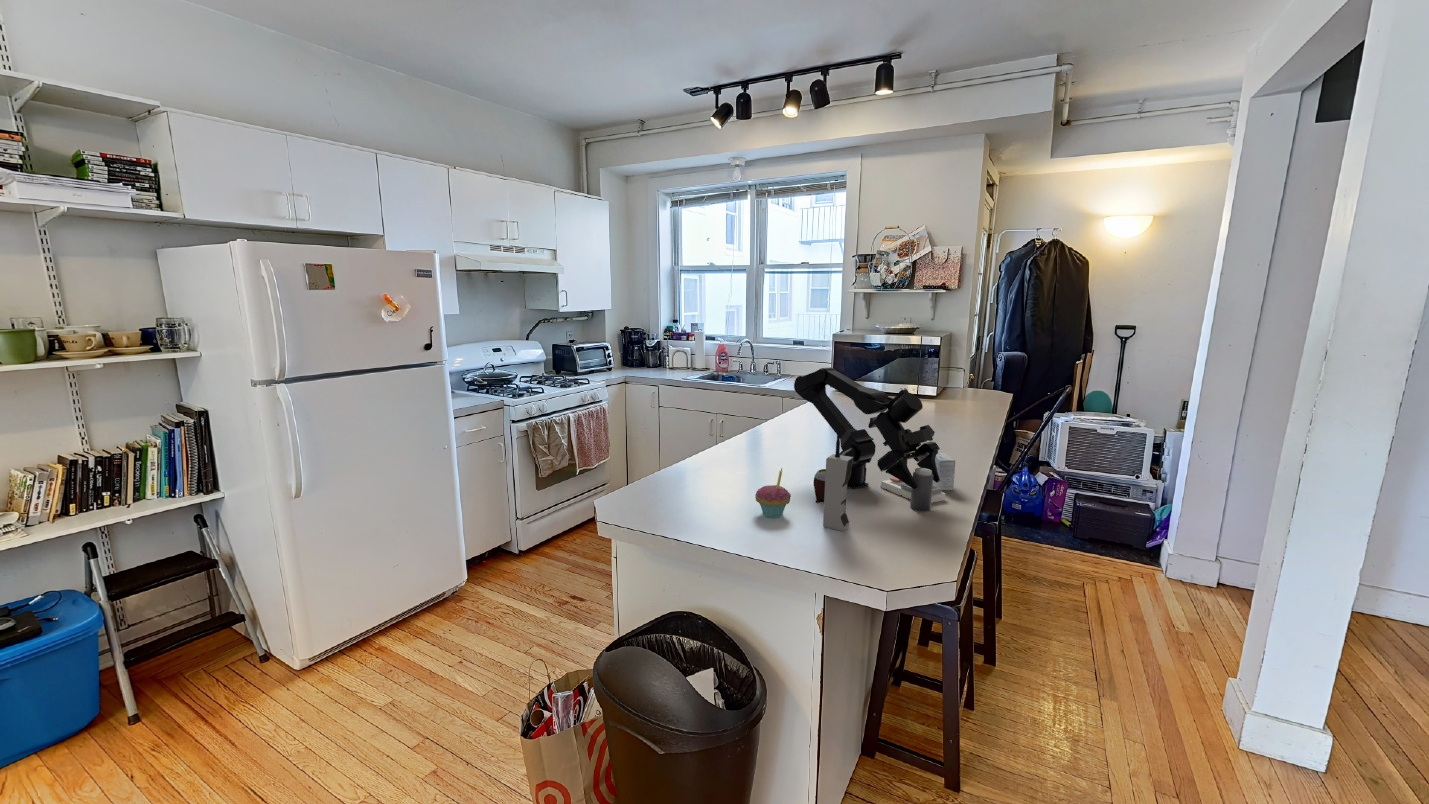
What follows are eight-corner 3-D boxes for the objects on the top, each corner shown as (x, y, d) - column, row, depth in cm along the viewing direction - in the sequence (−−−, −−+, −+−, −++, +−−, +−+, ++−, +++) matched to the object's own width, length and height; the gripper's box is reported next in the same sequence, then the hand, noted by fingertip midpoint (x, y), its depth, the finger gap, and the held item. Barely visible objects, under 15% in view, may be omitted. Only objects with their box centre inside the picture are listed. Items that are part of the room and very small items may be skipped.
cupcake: (793, 510, 141) (794, 463, 139) (785, 523, 133) (787, 473, 131) (759, 506, 144) (760, 460, 142) (750, 518, 136) (751, 469, 134)
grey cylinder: (915, 512, 141) (918, 473, 140) (907, 505, 146) (910, 467, 144) (933, 511, 142) (937, 473, 140) (925, 504, 146) (928, 467, 145)
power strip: (922, 504, 146) (923, 493, 146) (881, 487, 159) (881, 477, 159) (944, 500, 150) (945, 489, 149) (902, 483, 163) (902, 473, 162)
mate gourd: (808, 498, 150) (810, 443, 147) (834, 495, 152) (837, 440, 150) (821, 508, 143) (824, 450, 140) (849, 505, 146) (852, 448, 143)
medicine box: (953, 490, 157) (956, 460, 156) (937, 490, 157) (940, 460, 156) (942, 481, 165) (945, 452, 163) (927, 481, 165) (929, 452, 164)
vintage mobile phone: (843, 532, 129) (849, 424, 124) (822, 527, 131) (828, 421, 127) (849, 526, 132) (855, 421, 127) (828, 522, 134) (833, 418, 130)
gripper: (890, 419, 137) (926, 475, 131) (936, 411, 148) (972, 462, 141) (862, 444, 145) (895, 498, 138) (908, 434, 156) (940, 484, 149)
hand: (927, 484), depth 142 cm, fingers open, 9 cm apart
